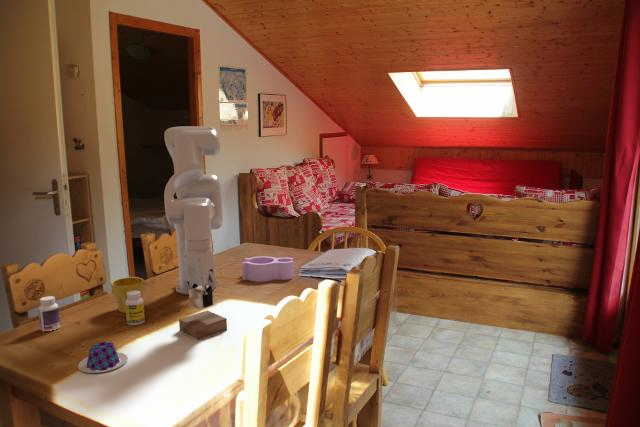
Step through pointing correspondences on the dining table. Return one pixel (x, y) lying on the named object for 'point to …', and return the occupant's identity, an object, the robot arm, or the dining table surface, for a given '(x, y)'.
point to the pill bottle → (49, 314)
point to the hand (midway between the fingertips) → (201, 303)
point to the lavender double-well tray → (267, 268)
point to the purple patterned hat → (102, 358)
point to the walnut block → (203, 325)
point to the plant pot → (125, 289)
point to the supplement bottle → (134, 308)
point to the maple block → (197, 297)
